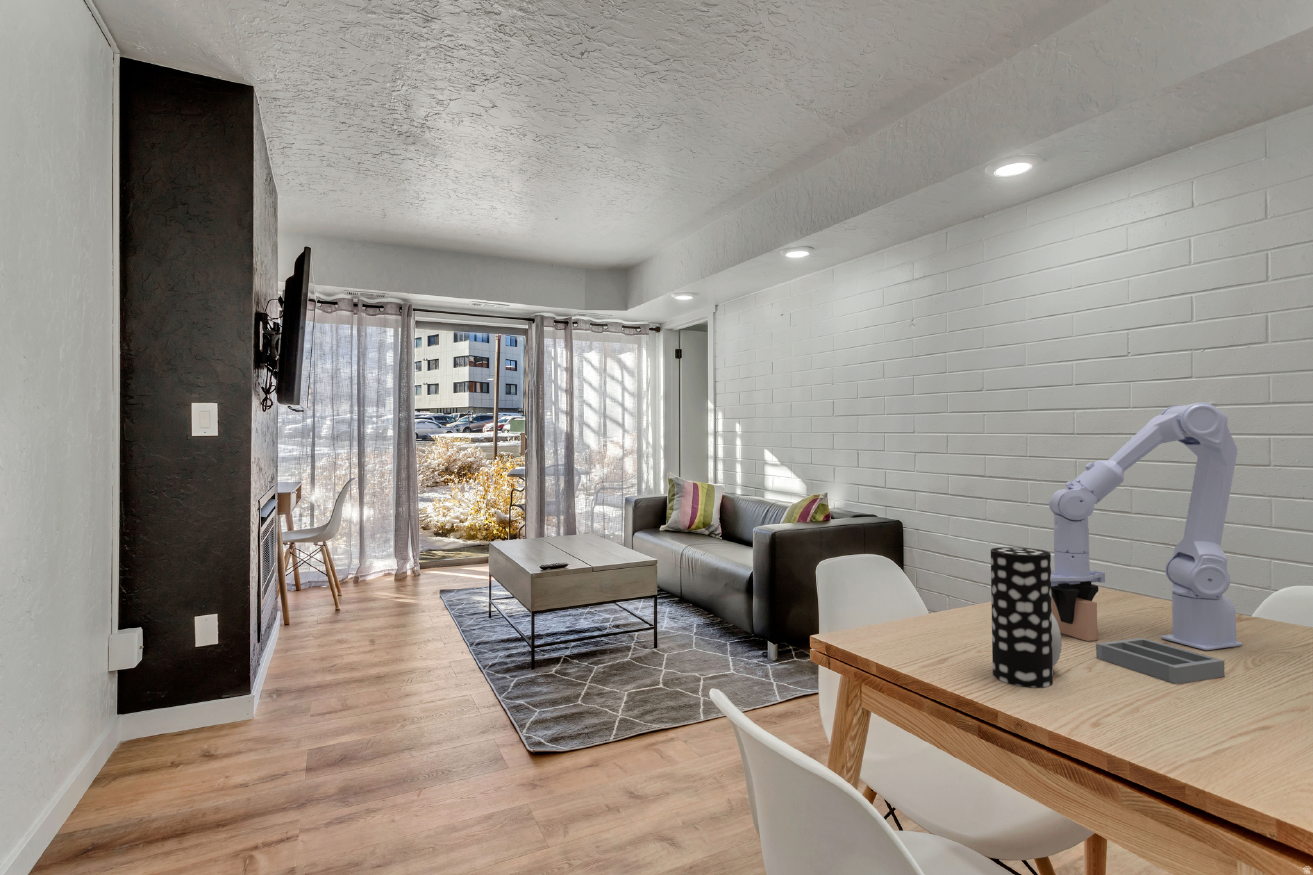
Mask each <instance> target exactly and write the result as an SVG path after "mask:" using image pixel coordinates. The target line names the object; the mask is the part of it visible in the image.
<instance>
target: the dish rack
mask: <svg viewBox="0 0 1313 875" xmlns="http://www.w3.org/2000/svg"><path fill="white" fill-rule="evenodd" d="M1095 652H1096V653H1095V654H1096V655H1095V658H1096V659H1098V660H1102V661H1105V662H1108V663H1111V664H1113V665H1116V666H1120V667H1122V668H1125V669H1128V670H1131V671H1135V672H1138V673H1140V674H1144V675H1147V676H1150V677H1152V678H1153V677H1154V678H1156V679H1159V680H1162V681H1166V682H1169V683H1171V684H1173V685H1180V684H1185V683H1186V684H1187V683H1191V682H1197V681H1205V680H1210V679H1216V678H1217V679H1218V678H1223V677H1225V660H1223V659H1220V658H1217V657H1212V656H1209V655H1205V654H1202V653H1198V652H1195V651H1192V650H1189V649H1184V648H1180V647H1176V646H1174V645H1169V644H1167V643H1162V642H1158V641H1155V640H1151V639H1148V638H1144V637H1136V638H1129V639H1120V640H1113V641H1106V642H1098V643H1095Z"/></svg>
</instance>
